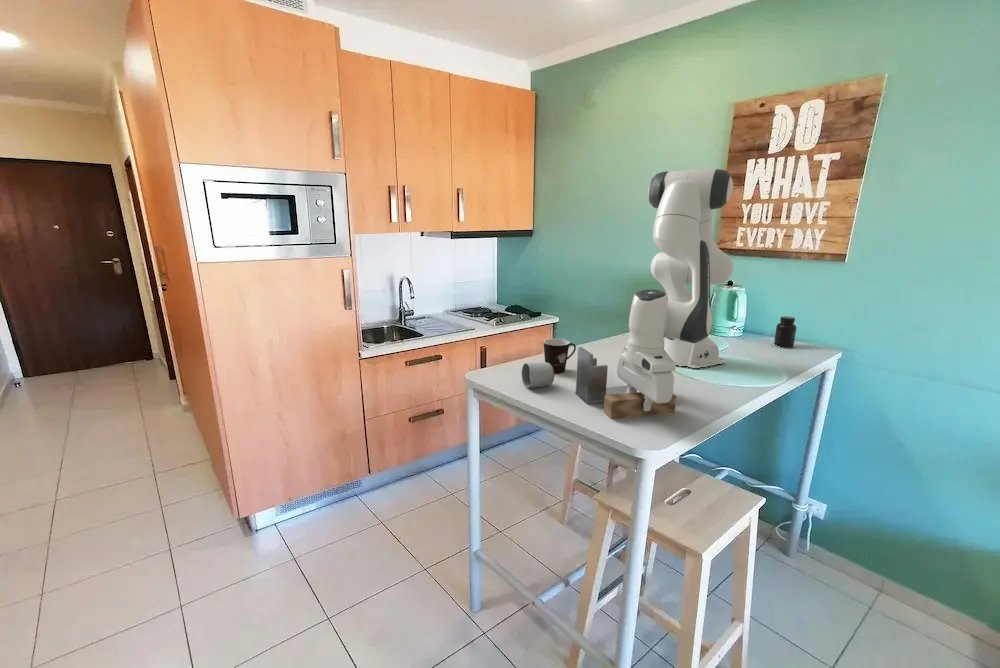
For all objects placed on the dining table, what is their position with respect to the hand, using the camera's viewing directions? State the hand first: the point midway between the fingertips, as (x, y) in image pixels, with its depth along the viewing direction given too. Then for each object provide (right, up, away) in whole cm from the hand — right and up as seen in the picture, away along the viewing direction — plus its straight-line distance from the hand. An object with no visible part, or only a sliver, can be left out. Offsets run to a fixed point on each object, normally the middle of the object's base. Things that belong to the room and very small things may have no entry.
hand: (639, 405), depth 112 cm
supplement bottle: (+79, +13, +63) cm, 102 cm away
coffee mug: (-16, +6, +33) cm, 37 cm away
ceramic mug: (-26, +3, +20) cm, 33 cm away
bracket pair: (-3, +1, +12) cm, 12 cm away
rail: (0, -2, 0) cm, 2 cm away
